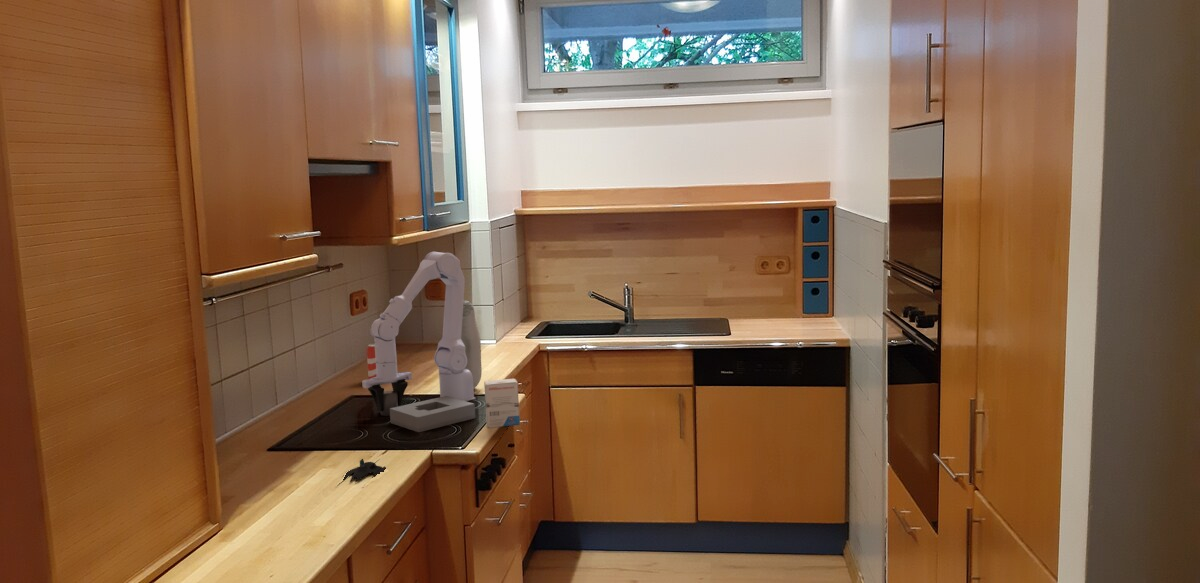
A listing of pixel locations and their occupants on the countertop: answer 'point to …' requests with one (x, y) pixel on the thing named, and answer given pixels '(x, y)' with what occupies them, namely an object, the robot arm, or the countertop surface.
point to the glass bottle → (471, 342)
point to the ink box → (501, 403)
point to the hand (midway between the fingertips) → (389, 408)
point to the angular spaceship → (364, 470)
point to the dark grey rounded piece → (389, 402)
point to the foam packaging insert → (432, 413)
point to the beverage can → (371, 361)
